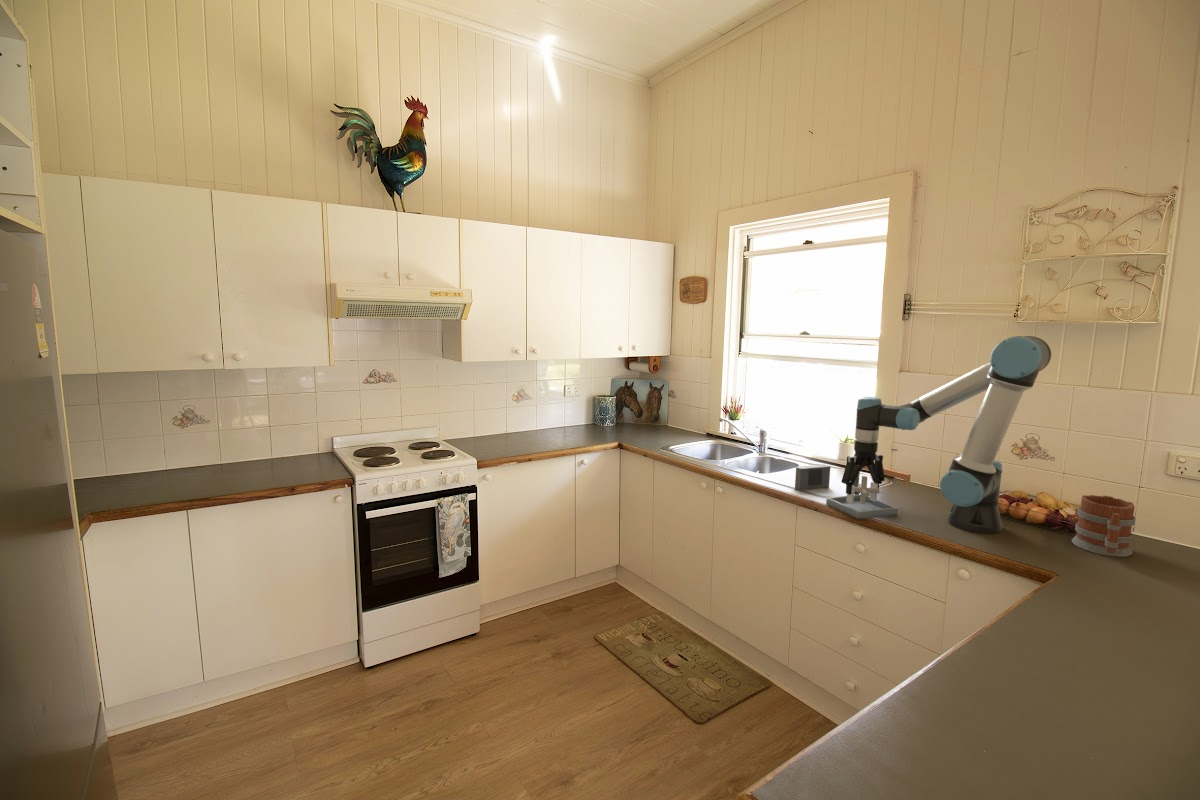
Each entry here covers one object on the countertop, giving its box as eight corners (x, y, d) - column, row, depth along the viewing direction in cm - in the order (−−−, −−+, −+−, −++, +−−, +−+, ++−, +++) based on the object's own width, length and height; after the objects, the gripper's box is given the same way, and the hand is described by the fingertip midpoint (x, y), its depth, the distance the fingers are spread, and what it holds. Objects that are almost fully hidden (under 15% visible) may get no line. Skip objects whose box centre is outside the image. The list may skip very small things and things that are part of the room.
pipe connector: (881, 509, 200) (883, 481, 198) (850, 506, 202) (853, 479, 200) (873, 500, 209) (875, 473, 208) (844, 498, 211) (846, 472, 210)
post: (862, 495, 223) (864, 470, 222) (853, 495, 222) (855, 470, 221) (854, 492, 227) (856, 467, 226) (846, 492, 226) (848, 468, 225)
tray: (897, 515, 201) (897, 508, 201) (858, 519, 196) (858, 512, 196) (862, 500, 217) (863, 494, 216) (826, 504, 212) (826, 497, 211)
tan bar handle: (855, 469, 225) (855, 459, 225) (910, 483, 206) (911, 472, 206) (849, 470, 224) (850, 460, 223) (905, 485, 205) (906, 473, 204)
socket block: (829, 488, 232) (830, 466, 231) (799, 490, 228) (800, 468, 227) (824, 485, 235) (825, 464, 234) (794, 488, 231) (796, 466, 230)
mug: (1125, 545, 176) (1132, 498, 174) (1143, 568, 160) (1151, 516, 157) (1067, 536, 183) (1073, 490, 181) (1078, 557, 167) (1085, 507, 165)
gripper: (883, 436, 209) (878, 495, 213) (833, 440, 203) (828, 500, 206) (899, 441, 202) (894, 502, 206) (847, 444, 196) (843, 507, 199)
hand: (861, 501), depth 206 cm, fingers closed on pipe connector, 9 cm apart
